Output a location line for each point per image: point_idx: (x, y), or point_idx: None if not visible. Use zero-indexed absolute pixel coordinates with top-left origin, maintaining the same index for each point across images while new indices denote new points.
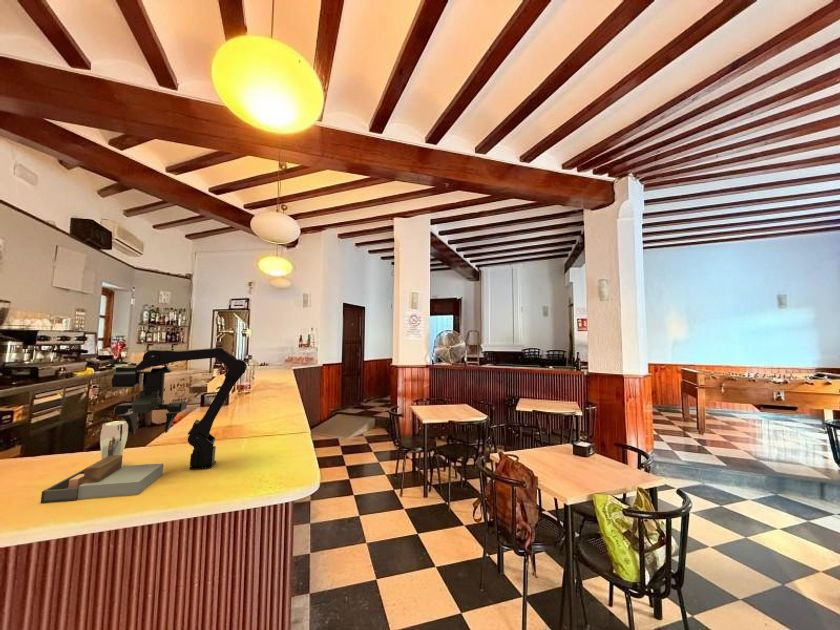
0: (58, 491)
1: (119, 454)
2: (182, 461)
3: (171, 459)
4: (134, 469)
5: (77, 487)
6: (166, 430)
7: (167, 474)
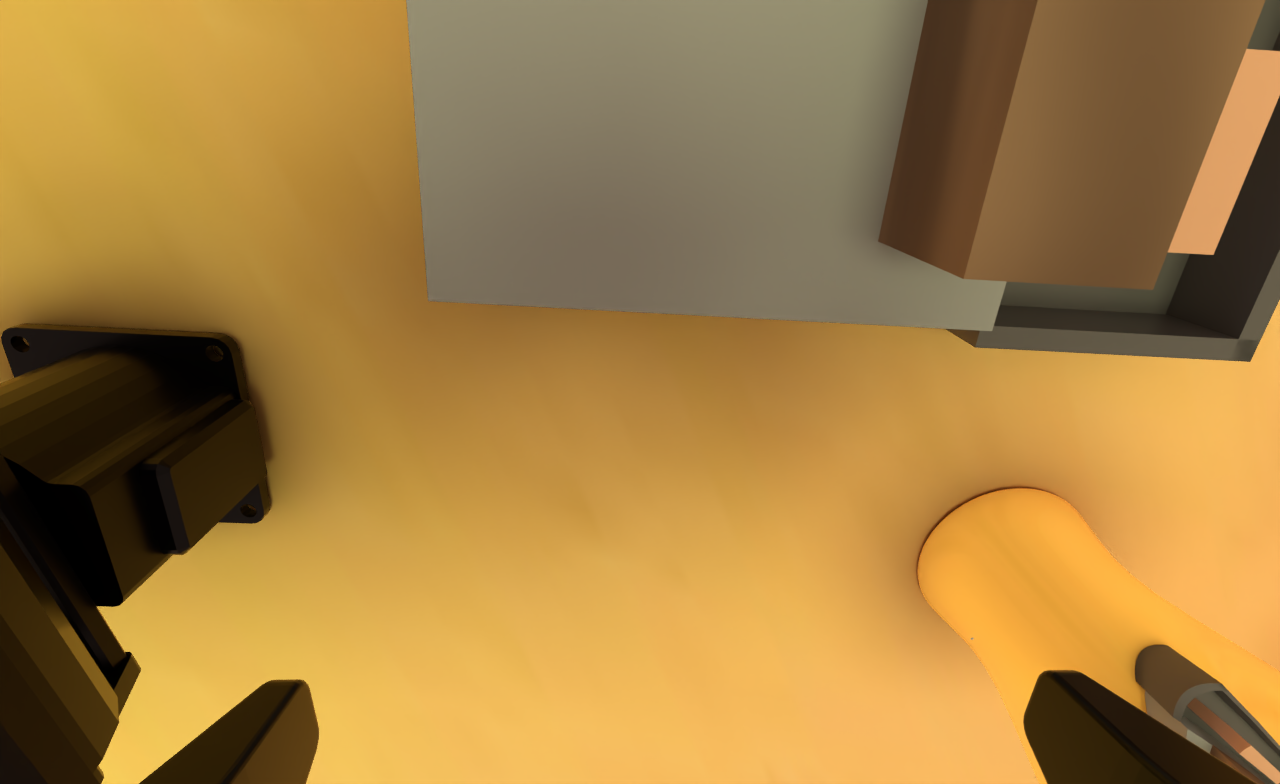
0: None
1: (1012, 626)
2: (441, 591)
3: (566, 657)
4: (697, 128)
5: None
6: (217, 727)
7: (409, 254)
